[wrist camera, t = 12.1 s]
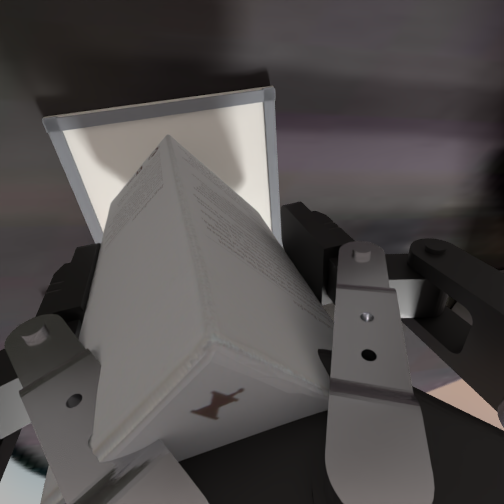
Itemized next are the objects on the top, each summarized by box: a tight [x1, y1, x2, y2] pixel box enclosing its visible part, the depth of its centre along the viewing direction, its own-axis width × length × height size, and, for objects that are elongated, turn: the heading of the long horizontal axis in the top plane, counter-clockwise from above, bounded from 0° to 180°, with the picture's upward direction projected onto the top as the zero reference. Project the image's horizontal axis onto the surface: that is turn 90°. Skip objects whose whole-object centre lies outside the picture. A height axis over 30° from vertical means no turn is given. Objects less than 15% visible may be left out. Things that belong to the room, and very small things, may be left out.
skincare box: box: [41, 135, 334, 504], centre depth 11 cm, size 6×4×12 cm
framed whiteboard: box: [42, 86, 283, 248], centre depth 16 cm, size 10×9×1 cm
